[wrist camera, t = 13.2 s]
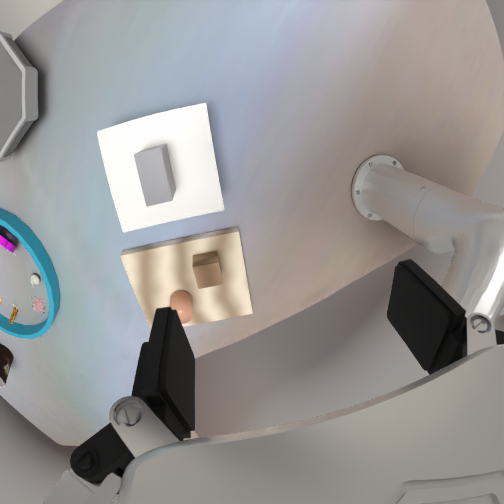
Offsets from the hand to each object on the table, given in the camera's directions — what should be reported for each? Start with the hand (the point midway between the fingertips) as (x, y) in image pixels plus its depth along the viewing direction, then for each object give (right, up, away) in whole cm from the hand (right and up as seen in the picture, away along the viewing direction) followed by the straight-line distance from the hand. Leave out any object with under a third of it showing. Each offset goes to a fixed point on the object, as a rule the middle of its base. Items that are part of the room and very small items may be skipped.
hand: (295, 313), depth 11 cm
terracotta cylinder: (-14, -6, +37) cm, 40 cm away
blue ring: (-54, -2, +30) cm, 62 cm away
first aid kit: (-45, +30, +15) cm, 56 cm away
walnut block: (-9, +1, +35) cm, 36 cm away
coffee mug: (-70, -24, +38) cm, 83 cm away
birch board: (-13, -3, +38) cm, 40 cm away
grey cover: (-14, +16, +28) cm, 35 cm away
